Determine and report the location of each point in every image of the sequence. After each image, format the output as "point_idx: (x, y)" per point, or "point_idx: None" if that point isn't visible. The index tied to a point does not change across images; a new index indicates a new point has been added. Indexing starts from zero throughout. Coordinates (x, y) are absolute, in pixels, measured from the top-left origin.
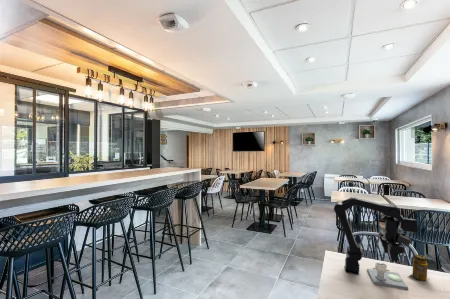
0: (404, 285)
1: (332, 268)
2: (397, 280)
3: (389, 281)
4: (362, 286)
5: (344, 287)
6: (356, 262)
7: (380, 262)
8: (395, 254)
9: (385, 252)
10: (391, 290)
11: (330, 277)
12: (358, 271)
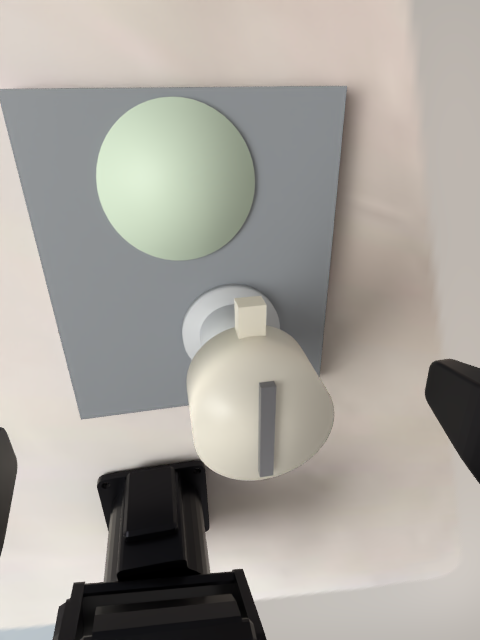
0: (319, 118)
1: None
2: (236, 170)
3: (279, 262)
4: (364, 440)
5: (393, 516)
6: (247, 589)
7: (204, 430)
8: None
9: (12, 479)
10: (379, 261)
11: (304, 576)
12: (174, 472)
